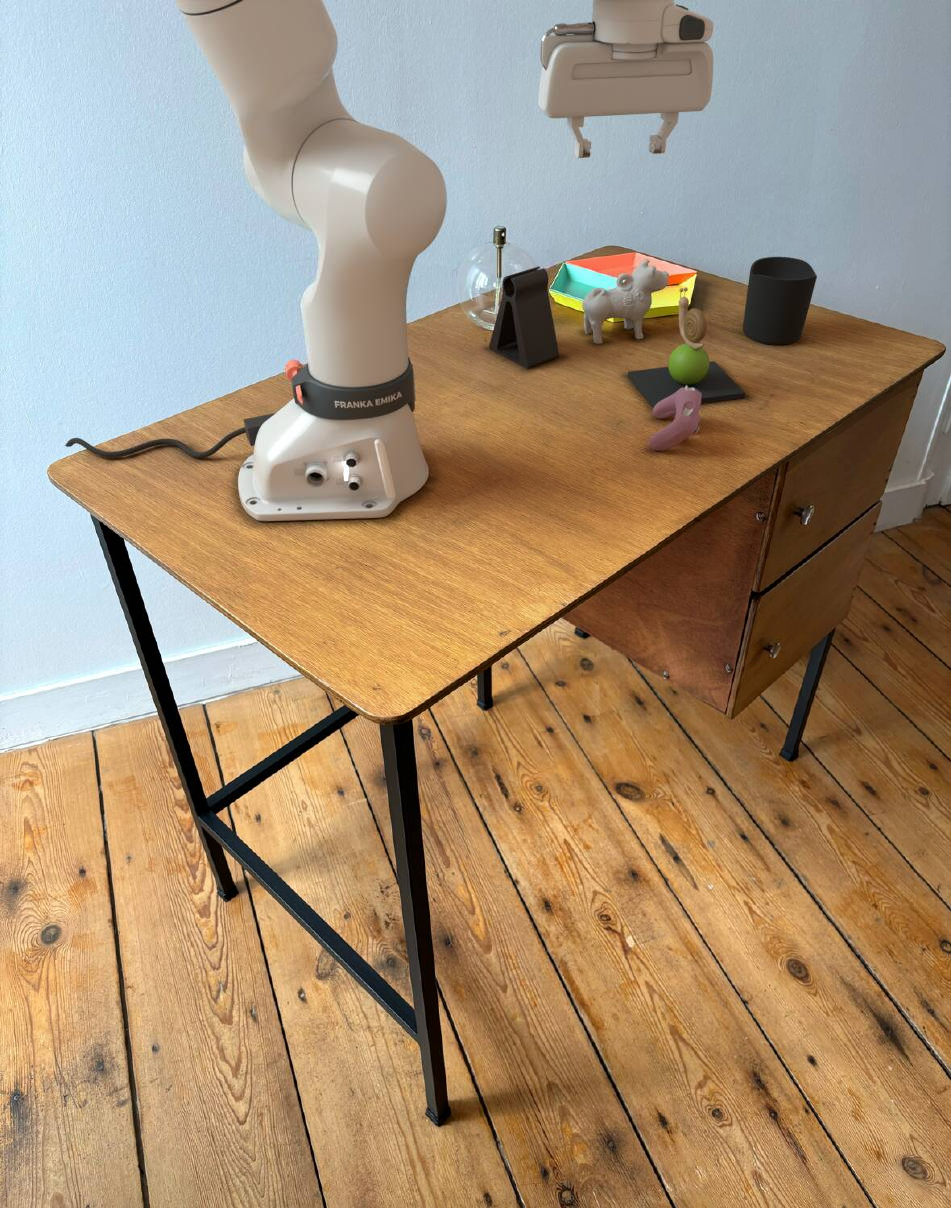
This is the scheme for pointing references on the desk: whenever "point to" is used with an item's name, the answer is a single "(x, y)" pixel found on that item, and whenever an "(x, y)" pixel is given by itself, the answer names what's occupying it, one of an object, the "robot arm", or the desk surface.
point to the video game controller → (677, 418)
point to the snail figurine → (689, 346)
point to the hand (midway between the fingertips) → (619, 154)
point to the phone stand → (525, 320)
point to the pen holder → (778, 299)
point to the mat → (663, 385)
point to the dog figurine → (624, 300)
